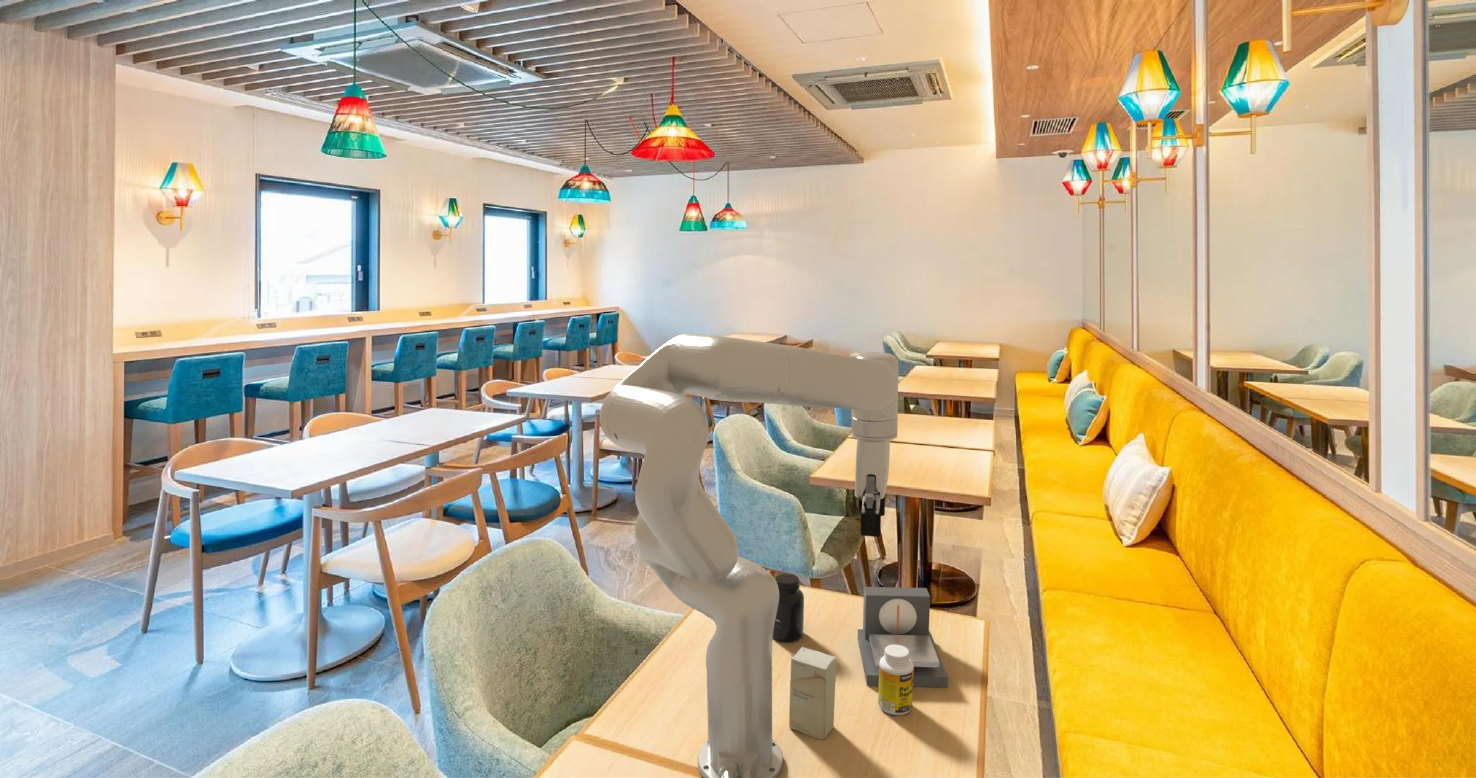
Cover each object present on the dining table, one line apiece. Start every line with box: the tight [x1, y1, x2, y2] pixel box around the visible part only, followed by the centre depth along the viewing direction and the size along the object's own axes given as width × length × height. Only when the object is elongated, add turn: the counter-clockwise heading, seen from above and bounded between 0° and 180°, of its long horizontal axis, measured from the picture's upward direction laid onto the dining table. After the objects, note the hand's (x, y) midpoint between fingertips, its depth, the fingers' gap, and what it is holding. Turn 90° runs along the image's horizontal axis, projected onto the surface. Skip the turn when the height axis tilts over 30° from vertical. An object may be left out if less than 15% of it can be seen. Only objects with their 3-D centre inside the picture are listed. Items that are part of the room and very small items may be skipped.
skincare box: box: [788, 646, 837, 741], centre depth 113 cm, size 6×4×12 cm
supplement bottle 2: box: [877, 645, 914, 716], centre depth 118 cm, size 6×6×10 cm
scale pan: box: [870, 634, 939, 667], centre depth 129 cm, size 9×11×2 cm
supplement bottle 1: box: [773, 573, 805, 643], centre depth 142 cm, size 7×7×12 cm
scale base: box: [857, 586, 949, 689], centre depth 132 cm, size 16×14×11 cm
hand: (873, 524), depth 122 cm, fingers open, 9 cm apart
